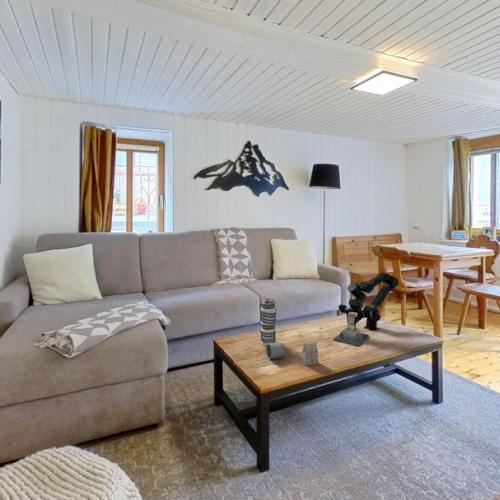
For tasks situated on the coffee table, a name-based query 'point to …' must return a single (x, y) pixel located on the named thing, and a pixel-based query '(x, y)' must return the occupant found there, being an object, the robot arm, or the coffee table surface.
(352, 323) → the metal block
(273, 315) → the decorative candle
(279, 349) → the ceramic mug
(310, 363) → the small box
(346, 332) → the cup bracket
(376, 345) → the coffee table surface
